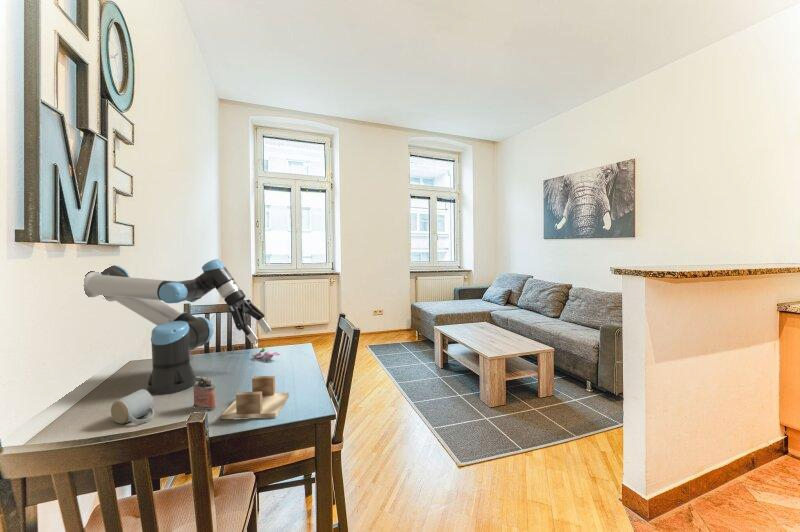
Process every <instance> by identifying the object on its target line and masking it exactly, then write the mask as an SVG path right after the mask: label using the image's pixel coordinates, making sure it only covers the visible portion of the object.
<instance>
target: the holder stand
mask: <svg viewBox="0 0 800 532" xmlns="http://www.w3.org/2000/svg"><path fill="white" fill-rule="evenodd" d="M251 381H252V382H251V383H252V384H251V390H252V391H239V392H237V393H236V394H235V400H234V401H232V403H231V404H230V405H229V406H228V407H227V408H226V409H225V411H223V413H221V414H220V416H221V417H220V420H221V419H233V420H235V419H234V418H263V419H276V418H277V417H278V415H279V414H280V412H281V410H282V409H283V407H284V406H285V403H286V402H287V401H288V399H289V397H290V396H289V395H290V394H289V392H276V376H275V375H259V376H258V375H257V376H256V375H255V376H253V377H252V378H251Z"/></svg>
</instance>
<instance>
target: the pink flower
mask: <svg viewBox="0 0 800 532" xmlns="http://www.w3.org/2000/svg"><path fill="white" fill-rule="evenodd" d="M265 351H266V348H265V347H261V350H260V351H259V352H258V353H255V354H252V355H251V358H253V359H255V360H260V359H263V360H266V361H269V360H271V359H272V358H273V357H274V356H276V357H279V356H281V355H282V354H281V352H279V351H274V352H273V351H270V350H268V351H266V352H265ZM263 353H264V354H263ZM268 359H269V360H268Z"/></svg>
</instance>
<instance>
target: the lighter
mask: <svg viewBox="0 0 800 532" xmlns="http://www.w3.org/2000/svg"><path fill="white" fill-rule="evenodd" d="M195 381H196V383H195V384H193V386H192V388H193V406H192V407H195V408H196V409H195V408H194V409H195V410H196V411H197V410H198V411H203V412H212V411H215V410H216V409H217V405H216V394H215V393H216V391H215V389H216V385H215V384H213V383H212V378H209V377H208V376H205V377H202V376H196V378H195ZM214 409H215V410H214ZM205 410H207V411H205ZM211 410H212V411H211Z"/></svg>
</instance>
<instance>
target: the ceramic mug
mask: <svg viewBox="0 0 800 532" xmlns="http://www.w3.org/2000/svg"><path fill="white" fill-rule="evenodd" d="M154 407H155V403H154V398H153V396H152V394H151V393H149V392H148V390H146V389H142V388H141V389H138V390H137V391H134V392H132V393H130V394H128V395H126V396H124V397H121V398H119V399H118V400H116V401H115V402H113V404H112V405H111V408H110V414H111V417H112V419H113V420H114V422H116V424H119V425H120V424H121V425H122V424H123V425H124V424H126V423H129V422H131V423H133V424H137V425H142V424H141V423H144V422H147V421H149V422H151V421H152V420H153V418H154V414H155V410H154ZM147 414H151V415H150V416H149V417H147V418H143V419H138V418H141V417H143V416H145V415H147ZM147 423H148V422H147ZM144 424H145V423H144Z"/></svg>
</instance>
